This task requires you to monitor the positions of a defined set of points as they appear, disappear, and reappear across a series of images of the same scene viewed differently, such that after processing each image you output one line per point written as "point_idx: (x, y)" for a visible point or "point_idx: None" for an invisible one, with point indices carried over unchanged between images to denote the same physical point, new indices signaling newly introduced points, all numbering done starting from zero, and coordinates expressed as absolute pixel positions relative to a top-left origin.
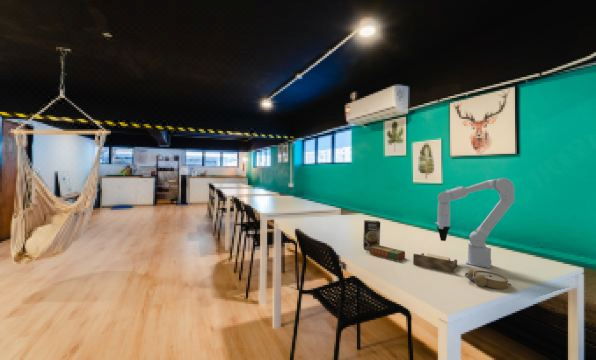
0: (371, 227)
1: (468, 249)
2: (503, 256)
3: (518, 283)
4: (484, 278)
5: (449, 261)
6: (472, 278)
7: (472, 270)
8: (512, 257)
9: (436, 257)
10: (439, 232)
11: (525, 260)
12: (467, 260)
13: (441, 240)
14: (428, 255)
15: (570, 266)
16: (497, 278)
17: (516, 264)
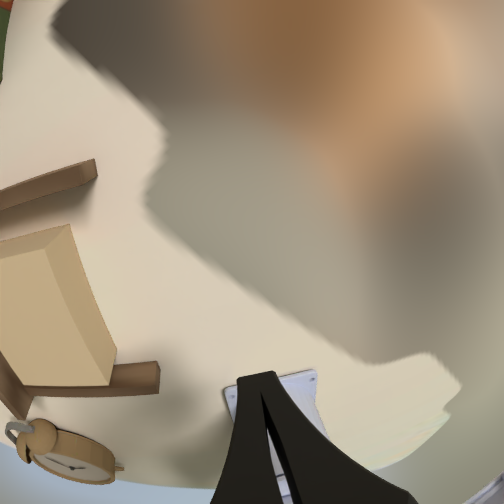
0: None
1: (273, 450)
2: (446, 383)
3: (154, 478)
4: (26, 459)
5: (8, 406)
6: (9, 437)
7: (32, 451)
8: (443, 395)
9: (24, 331)
10: (220, 487)
11: (424, 418)
12: (283, 380)
13: (239, 384)
14: (8, 276)
15: (410, 453)
16: (81, 473)
17: (367, 435)
